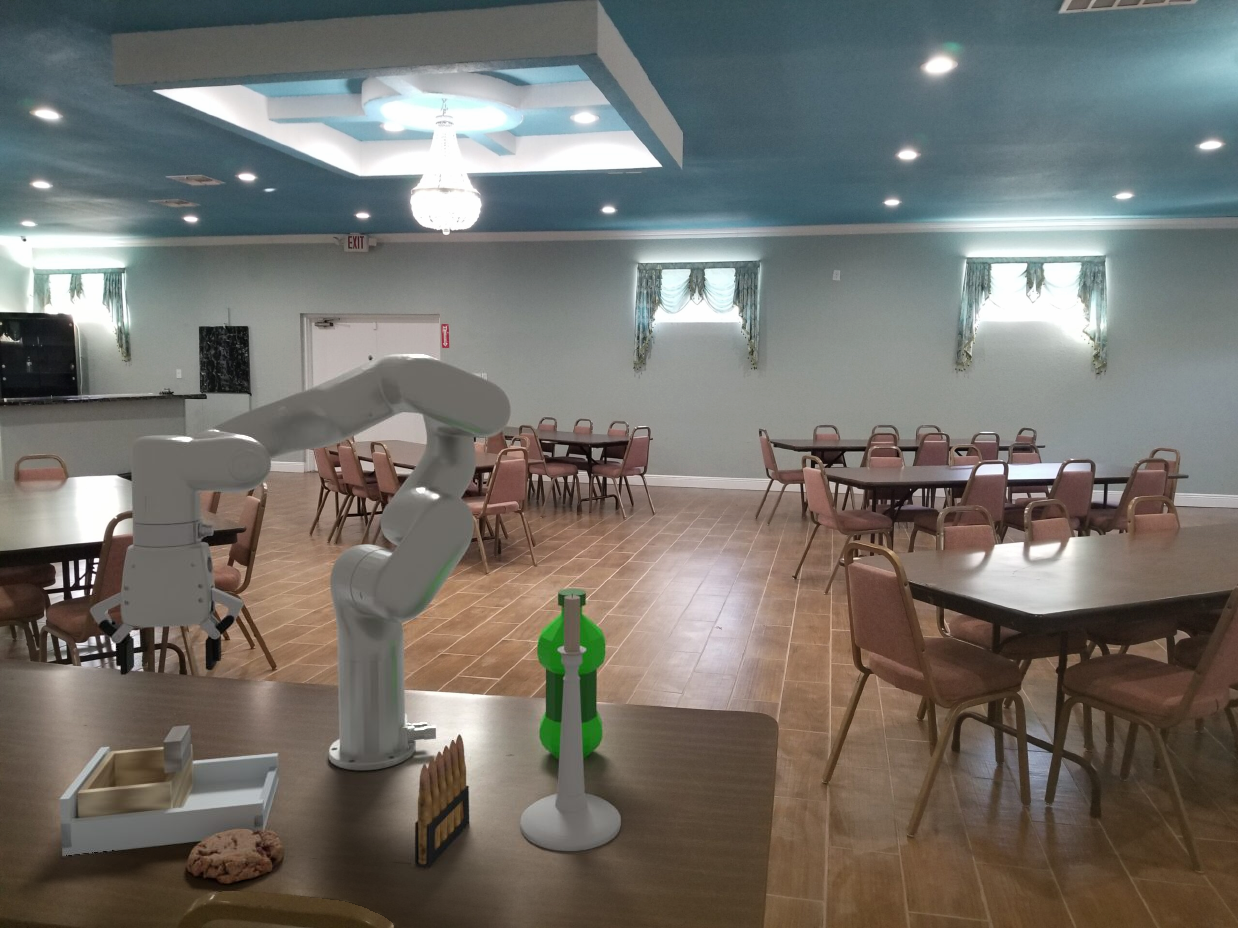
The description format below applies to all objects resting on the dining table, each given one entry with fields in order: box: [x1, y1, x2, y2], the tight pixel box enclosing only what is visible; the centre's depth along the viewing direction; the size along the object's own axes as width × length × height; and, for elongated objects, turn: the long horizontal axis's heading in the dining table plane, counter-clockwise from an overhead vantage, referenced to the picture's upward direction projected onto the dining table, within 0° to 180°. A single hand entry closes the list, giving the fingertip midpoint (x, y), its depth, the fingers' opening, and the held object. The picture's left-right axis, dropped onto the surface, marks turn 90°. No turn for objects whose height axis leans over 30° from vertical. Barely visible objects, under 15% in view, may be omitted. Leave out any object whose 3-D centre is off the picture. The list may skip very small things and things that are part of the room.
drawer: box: [77, 724, 194, 818], centre depth 109 cm, size 11×12×10 cm
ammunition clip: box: [414, 734, 470, 869], centre depth 104 cm, size 11×2×12 cm, turn 164°
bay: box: [58, 746, 280, 857], centre depth 110 cm, size 22×15×7 cm, turn 104°
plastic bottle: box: [536, 588, 606, 760], centre depth 129 cm, size 10×10×25 cm
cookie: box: [186, 829, 285, 885], centre depth 100 cm, size 10×11×3 cm
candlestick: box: [519, 594, 622, 852], centre depth 108 cm, size 13×13×30 cm
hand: (169, 668), depth 108 cm, fingers open, 9 cm apart
